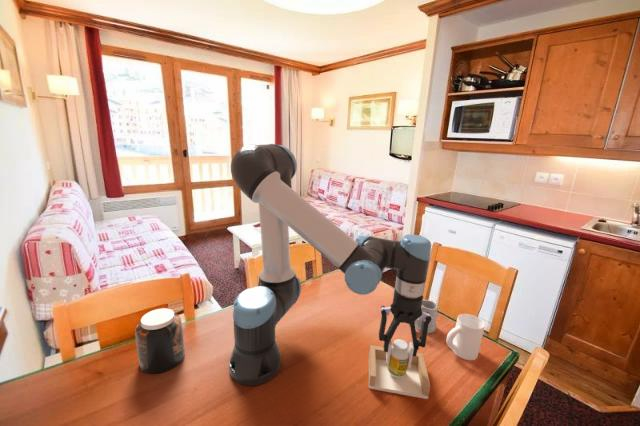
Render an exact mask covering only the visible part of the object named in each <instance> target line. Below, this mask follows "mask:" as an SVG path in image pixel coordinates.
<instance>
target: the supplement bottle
mask: <svg viewBox="0 0 640 426" xmlns="http://www.w3.org/2000/svg"><path fill="white" fill-rule="evenodd" d="M408 349H409V344H408V342H406V341H405V340H403V339H401V338H400V339H397V338H396V339H394V341H393V343H392V347H391V354H390V361H389V364H388V371H389V373H390V374H391V375H393V376H394V377H398V378H401V377H404V376H405V374H406V370H407V364H408V358H409V352H408Z"/></svg>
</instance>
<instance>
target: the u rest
mask: <svg viewBox="0 0 640 426" xmlns="http://www.w3.org/2000/svg"><path fill="white" fill-rule="evenodd" d="M386 353H387V352H384V346H378V345H371V344H370V345H369V354H368V389H371V390H376V391H380V392H381V391H382V392H387V393H392V394H398V395H403V396H408V397H414V398H420V399H424V400H429V395H430V390H431V382H430V378H429V374H428V370H427V366H426V362H425V359H424V354H423V353H422V352H417V354H416V356H415V357H414V356H412V362H411V368H410V367H408V365H407V370H406V374H405V376H404V377H401V378H398V377H394V376H393V375H391V374H390V373H389V371H388V364H387V363H386Z"/></svg>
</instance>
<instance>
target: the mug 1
mask: <svg viewBox="0 0 640 426" xmlns="http://www.w3.org/2000/svg"><path fill="white" fill-rule="evenodd" d="M421 310H422V311H423V312H425V313H426V312H429V313H430V316H431V321H430V323H429V325H428V331H427V334H433V333H434V332H435V331H436V329H437V318H438V315H439V313H438V310H439V305H437V303H436V302H434V301H433V300H430V299H429V300H428V299H423V301H422V306H421ZM414 322H415V329H417V330H418V331H421V324H422V318H421V316H420V317H419V318H418V319H417V320H416V321H414ZM408 326H409V327H410V324H408Z"/></svg>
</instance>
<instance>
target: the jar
mask: <svg viewBox="0 0 640 426" xmlns="http://www.w3.org/2000/svg"><path fill="white" fill-rule="evenodd" d="M134 332H135V333H134V334H135V335H134V336H135V344H136V351H137V352H136V353H137V356H138V357H137V359H138V363H139V368H140V370H141V371H142V372H143V373H146V374H149V375H158V374H162V373H163V374H164V373H165V372H168V371H170V370H172V369H174V368H175V367H177V366H178V365H179V364H180V363H182V361H183V359H184V357H185V341H184V332H183V322H182V319H181V317H180V315H179V314H178V313H175V312H174V310H173V309H170V308H166V307H165V308H163V307H162V308H157V309H153V310H151V311H148V312H147V313H145V314H144V315H143V316H142V317H141V318H140V321H139V322H138V323H137V324H136V326H135V329H134Z"/></svg>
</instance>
